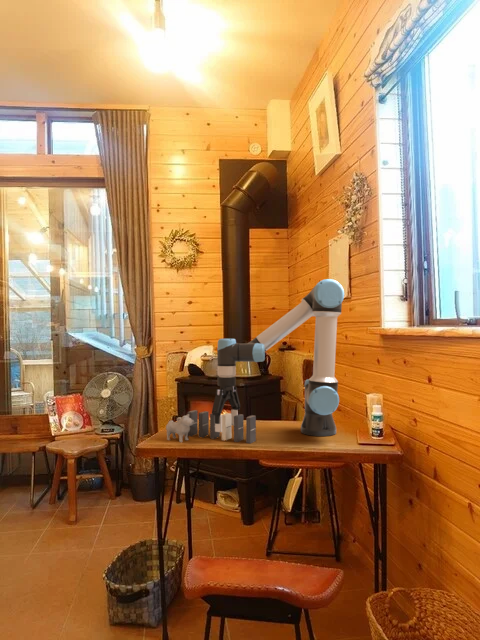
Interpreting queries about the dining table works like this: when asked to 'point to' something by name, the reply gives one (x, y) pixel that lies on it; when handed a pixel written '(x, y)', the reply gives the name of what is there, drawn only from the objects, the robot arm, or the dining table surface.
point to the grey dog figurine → (179, 427)
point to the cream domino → (226, 426)
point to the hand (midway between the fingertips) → (226, 428)
